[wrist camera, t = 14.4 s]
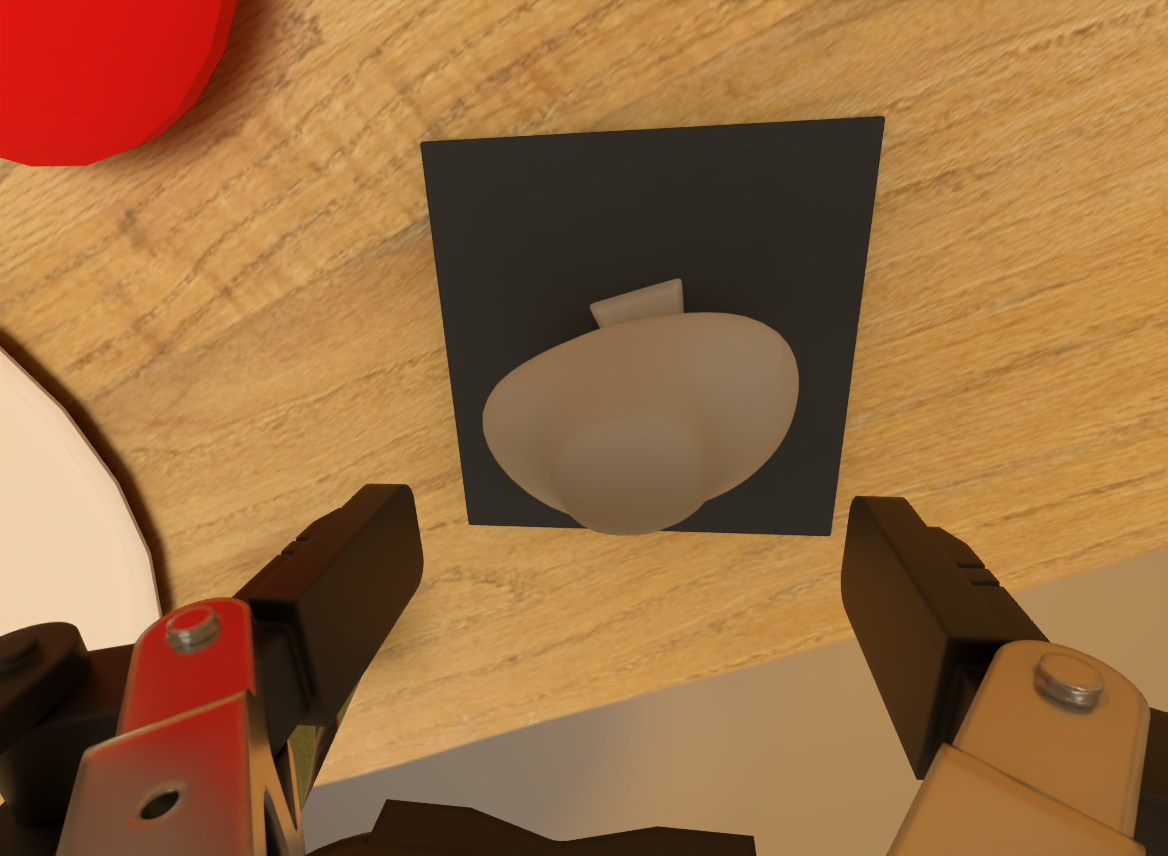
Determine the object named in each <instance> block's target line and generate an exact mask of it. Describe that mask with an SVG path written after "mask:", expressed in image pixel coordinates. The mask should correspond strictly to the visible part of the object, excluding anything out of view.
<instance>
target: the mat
mask: <svg viewBox="0 0 1168 856" xmlns="http://www.w3.org/2000/svg"><path fill="white" fill-rule="evenodd" d="M884 123H885V117H883V116H876V117H858V118H840V119H823V120H805V121H787V122H769V123H751V124H733V125H715V126H697V127H679V128H661V129H643V130H625V131H607V132H589V133H571V134H553V135H535V136H517V137H499V138H481V139H463V140H445V141H428V142H421V144H420V146H421V153H422V161H423V169H424V177H425V185H426V193H427V200H428V208H429V216H430V224H431V232H432V240H433V248H434V255H435V263H436V271H437V279H438V287H439V295H440V303H441V310H442V318H443V326H444V334H445V342H446V350H447V357H448V365H449V373H450V381H451V389H452V397H453V405H454V412H455V420H456V428H457V436H458V444H459V452H460V459H461V467H462V475H463V483H464V491H465V499H466V507H467V514H468V522H469V525H491V526H522V527H554V528H585V529H588V528H586V527H584V526H583V525H581V524H580V523H579V522H577V521H576V520H575V519H574V518H573V517H572V516H571V515H570V514H567V513H564V512H562V511H560V510H557V509H555V508H552V507H550V506H548V505H547V504H545V503H543V502H542V501H540V500H538V499H537V498H535V497H533V496H532V495H531V494H529V493H528V492H526V491H525V490H524V489H523V488H522V487H520V486H519V485H518V484H517V483H516V482H515V481H514V480H512V479H511V478H510V477H509V475H508V474H507V473H506V472H505V471H504V470H503V468H502V467H501V466H500V465H499V463H498V462H497V460H496V459H495V457H494V455H493V454H492V452H491V450H490V449H489V446H488V444H487V441H486V438H485V435H484V432H483V411H484V408H485V405H486V402H487V399H488V397H489V396H490V394H491V393H492V391H493V390H494V388H495V387H496V385H497V384H498V383H499V382H500V381H501V380H502V379H503V378H504V377H506V376H507V375H508V374H509V373H510V372H512V371H513V370H515V369H516V368H517V367H519V366H520V365H522V364H523V363H525V362H527V361H529V360H531V359H532V358H534V357H536V356H537V355H539V354H541V353H543V352H545V351H547V350H549V349H551V348H554V347H556V346H558V345H560V344H563V343H565V342H567V341H570V340H572V339H574V338H577V337H579V336H582V335H584V334H587V333H590V332H592V331H595V330H598V329H600V327H599V325H598V323H597V321H596V319H595V318H594V316H593V314H592V312H591V309H590V305H591V304H593V303H595V302H598V301H602V300H605V299H608V298H612V297H615V296H618V295H622V294H625V293H629V292H632V291H635V290H639V289H642V288H646V287H649V286H653V285H656V284H660V283H663V282H666V281H670V280H673V279H680V280H681V281H682V291H683V309H684V313H702V312H711V313H729V314H734V315H740V316H746V317H748V318H751V319H754V320H756V321H759V322H762V323H764V324H765V325H767V326H768V327H770V328H772V329H773V330H775V331H776V332H778V333H779V334H780V335H781V337H782V338H783V339H784V340H785V341H786V342H787V343H788V345H789V346H790V348H791V350H792V353H793V355H794V357H795V359H796V364H797V368H798V374H799V391H798V398H797V404H796V409H795V412H794V415H793V419H792V422H791V425H790V427H789V429H788V431H787V433H786V435H785V437H784V439H783V440H782V442H781V444H780V445H779V447H778V448H777V450H776V451H775V452H774V453H773V454H772V456H771V457H770V458H769V459H768V460H767V461H766V462H765V463H764V464H763V465H762V466H761V467H760V468H759V469H758V470H757V471H756V472H755V473H753V474H752V475H751V476H750V477H749V478H747V479H746V480H745V481H743V482H742V483H740V484H739V485H737V486H735V487H734V488H732V489H731V490H729V491H727V492H725V493H723V494H721V495H719V496H717V497H714V498H712V499H710V500H707V501H705V502H704V503H703V504H702V505H701V506H700V508H699V509H698V510H696V511H695V512H694V513H693V514H692V515H690V516H689V517H687V518H686V519H684V520H683V521H681V522H679V523H677V524H674V525H672V526H670V527H667V528H665V529H662V530H659V531H680V532H712V533H744V534H775V535H807V536H830V535H831V528H832V520H833V513H834V505H835V498H836V490H837V482H838V475H839V467H840V459H841V452H842V444H843V436H844V429H845V421H846V414H847V406H848V398H849V391H850V383H851V375H852V368H853V360H854V352H855V345H856V337H857V329H858V322H859V314H860V307H861V299H862V291H863V284H864V276H865V268H866V261H867V253H868V245H869V238H870V230H871V223H872V215H873V207H874V200H875V192H876V184H877V177H878V169H879V161H880V154H881V146H882V139H883V131H884Z"/></svg>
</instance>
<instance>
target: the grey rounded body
mask: <svg viewBox="0 0 1168 856" xmlns="http://www.w3.org/2000/svg"><path fill="white" fill-rule="evenodd" d="M590 309H591V312H592V314H593V316H594V318H595V319H596V321H597V323H598V325H599V327H600V329H598V330H595V331H592V332H590V333H587V334H584V335H582V336H579V337H577V338H574V339H572V340H570V341H567V342H565V343H563V344H560V345H558V346H556V347H554V348H551V349H549V350H547V351H545V352H543V353H541V354H539V355H537V356H536V357H534V358H532V359H531V360H529V361H527V362H525V363H523V364H522V365H520V366H519V367H517V368H516V369H515V370H513V371H512V372H510V373H509V374H508V375H507V376H506V377H504V378H503V379H502V380H501V381H500V382H499V383H498V384H497V385H496V387H495V388H494V390H493V391H492V393H491V394H490V396H489V397H488V399H487V402H486V405H485V408H484V411H483V432H484V435H485V438H486V441H487V444H488V446H489V449H490V450H491V452H492V454H493V455H494V457H495V459H496V460H497V462H498V463H499V465H500V466H501V467H502V468H503V470H504V471H505V472H506V473H507V474H508V475H509V477H510V478H511V479H512V480H514V481H515V482H516V483H517V484H518V485H519V486H520V487H522V488H523V489H524V490H525V491H526V492H528V493H529V494H531V495H532V496H533V497H535V498H537V499H538V500H540V501H542V502H543V503H545V504H547V505H548V506H550V507H552V508H555V509H557V510H560V511H562V512H564V513H567V514H570V515H571V516H572V517H573V518H574V519H575V520H576V521H577V522H579V523H580V524H581V525H583V526H584V527H586V528H588V529H590V530H593V531H596V532H600V533H604V534H610V535H642V534H649V533H653V532H656V531H659V530H662V529H665V528H667V527H670V526H672V525H674V524H677V523H679V522H681V521H683V520H684V519H686V518H687V517H689V516H690V515H692V514H693V513H694V512H695V511H696V510H698V509H699V508H700V506H701V505H702V504H703V503H704V502H705V501H707V500H710V499H712V498H714V497H717V496H719V495H721V494H723V493H725V492H727V491H729V490H731V489H732V488H734V487H735V486H737V485H739V484H740V483H742V482H743V481H745V480H746V479H747V478H749V477H750V476H751V475H752V474H753V473H755V472H756V471H757V470H758V469H759V468H760V467H761V466H762V465H763V464H764V463H765V462H766V461H767V460H768V459H769V458H770V457H771V456H772V454H773V453H774V452H775V451H776V450H777V448H778V447H779V445H780V444H781V442H782V440H783V439H784V437H785V435H786V433H787V431H788V429H789V427H790V425H791V422H792V419H793V415H794V412H795V409H796V404H797V398H798V391H799V374H798V368H797V364H796V359H795V357H794V355H793V353H792V350H791V348H790V346H789V345H788V343H787V342H786V341H785V340H784V339H783V338H782V337H781V335H780V334H779V333H778V332H776V331H775V330H773V329H772V328H770V327H768V326H767V325H765V324H764V323H762V322H759V321H756V320H754V319H751V318H748V317H746V316H740V315H734V314H729V313H711V312H702V313H684V309H683V291H682V281H681V280H680V279H673V280H670V281H666V282H663V283H660V284H656V285H653V286H649V287H646V288H642V289H639V290H635V291H632V292H629V293H625V294H622V295H618V296H615V297H612V298H608V299H605V300H602V301H598V302H595V303H593V304H591V305H590Z"/></svg>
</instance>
